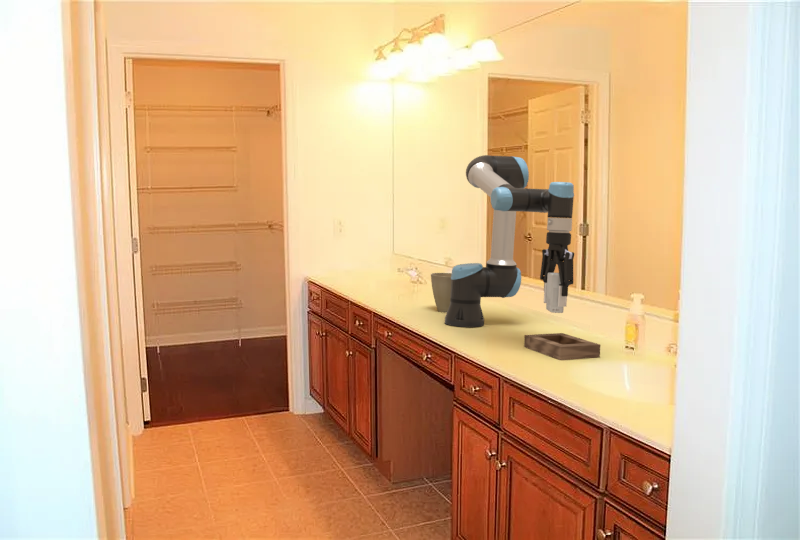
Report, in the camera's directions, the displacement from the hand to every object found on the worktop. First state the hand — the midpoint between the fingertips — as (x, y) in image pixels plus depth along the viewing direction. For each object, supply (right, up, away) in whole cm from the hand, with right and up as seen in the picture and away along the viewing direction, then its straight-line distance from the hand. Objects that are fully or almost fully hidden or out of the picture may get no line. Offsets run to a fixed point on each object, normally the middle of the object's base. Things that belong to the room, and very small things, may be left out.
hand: (554, 304), depth 208 cm
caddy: (+2, -15, +2) cm, 16 cm away
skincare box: (0, -2, 0) cm, 2 cm away
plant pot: (-29, -7, +77) cm, 83 cm away
